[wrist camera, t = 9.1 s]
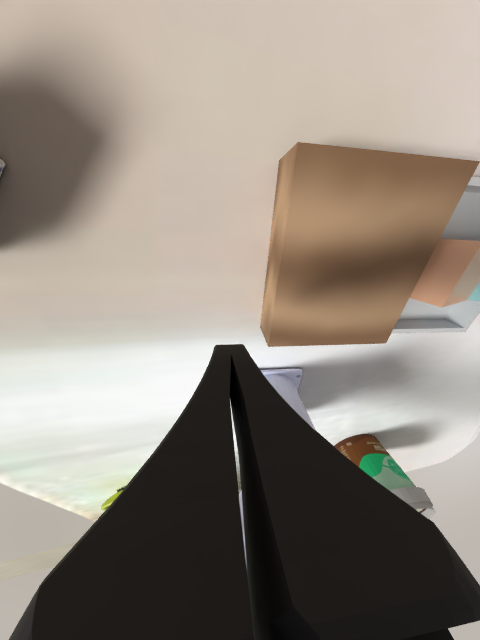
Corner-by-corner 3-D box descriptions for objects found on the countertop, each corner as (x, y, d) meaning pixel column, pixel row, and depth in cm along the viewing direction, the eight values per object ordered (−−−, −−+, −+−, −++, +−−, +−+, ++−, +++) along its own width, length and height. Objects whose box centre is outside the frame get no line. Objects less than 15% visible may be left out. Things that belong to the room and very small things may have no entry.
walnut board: (361, 325, 21) (385, 343, 18) (260, 327, 20) (268, 346, 17) (424, 173, 15) (479, 161, 12) (279, 160, 13) (297, 142, 10)
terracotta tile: (433, 291, 19) (467, 300, 17) (406, 297, 17) (441, 307, 15) (463, 238, 17) (507, 241, 15) (436, 238, 15) (482, 241, 13)
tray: (440, 320, 22) (465, 331, 20) (367, 321, 21) (384, 333, 19) (524, 190, 16) (573, 185, 14) (426, 182, 15) (462, 175, 13)
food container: (396, 434, 35) (457, 507, 26) (374, 452, 37) (423, 523, 28) (347, 426, 31) (398, 505, 22) (327, 445, 34) (365, 524, 25)
